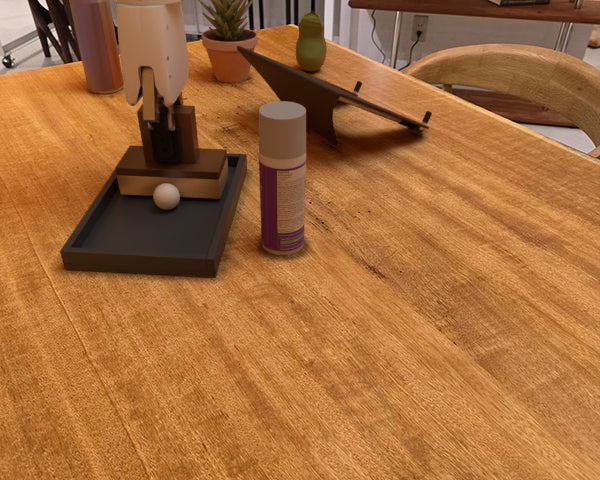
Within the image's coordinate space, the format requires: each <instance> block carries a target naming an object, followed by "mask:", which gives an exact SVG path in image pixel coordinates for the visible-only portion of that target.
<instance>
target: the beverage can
mask: <svg viewBox="0 0 600 480" xmlns="http://www.w3.org/2000/svg"><path fill="white" fill-rule="evenodd" d="M110 1H111V0H68V2H69V7H70V11H71V16H72V20H73V26H74V31H75V35H76V40H77V44H78V45H77V46H78V48H79V49H78V50H79V54H80V58H81V63H82V69H83V72H84V73H83V74H84V76H85V81H86V82H85V83H86V87H87V88H88V89H89V91H90V92H92V93H93V94H97V95H109V94H115V93H117V92H120V91H121V90H122V89H123V88H124V81H123V74H122V66H121V58H120V51H119V45H118V42H117V36H116V30H115V24H114V18H113V13H112V12H113V11H112V7H111V2H110Z"/></svg>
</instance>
